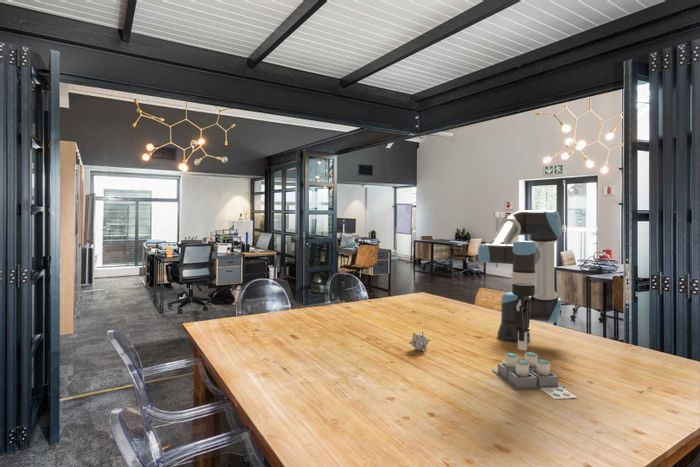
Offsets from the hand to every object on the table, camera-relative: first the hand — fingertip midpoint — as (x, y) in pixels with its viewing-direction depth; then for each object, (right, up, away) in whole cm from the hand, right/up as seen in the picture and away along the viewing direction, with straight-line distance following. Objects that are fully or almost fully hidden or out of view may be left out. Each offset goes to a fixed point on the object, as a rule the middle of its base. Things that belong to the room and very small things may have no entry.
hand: (522, 349), depth 144 cm
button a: (0, -10, +1) cm, 10 cm away
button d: (+7, -9, +9) cm, 15 cm away
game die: (-30, -12, +37) cm, 50 cm away
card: (+9, -13, -7) cm, 18 cm away
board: (+4, -13, +5) cm, 14 cm away
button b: (-1, -9, +9) cm, 13 cm away
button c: (+8, -10, +1) cm, 13 cm away
